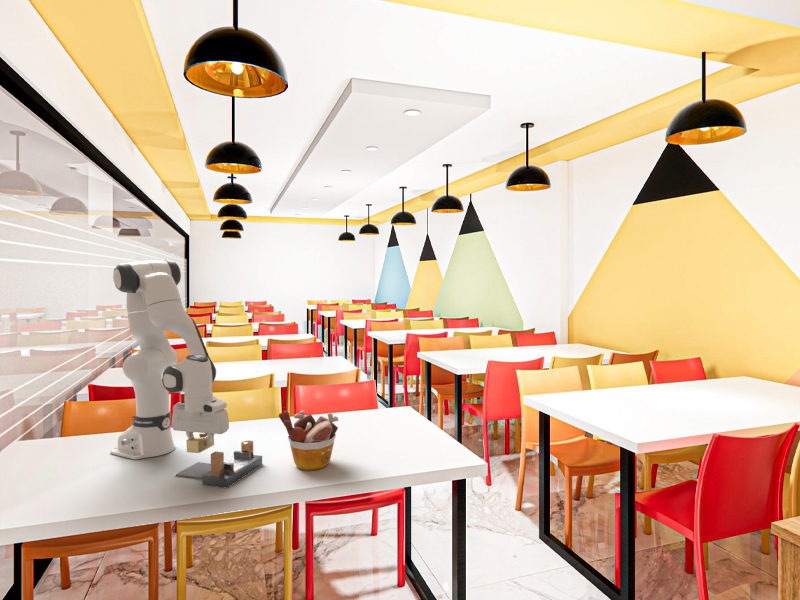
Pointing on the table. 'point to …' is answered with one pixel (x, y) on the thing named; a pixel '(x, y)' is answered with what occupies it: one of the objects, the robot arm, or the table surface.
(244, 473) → the hand plane
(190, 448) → the tan rectangular block
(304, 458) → the fried chicken
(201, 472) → the mat
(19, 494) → the table surface
